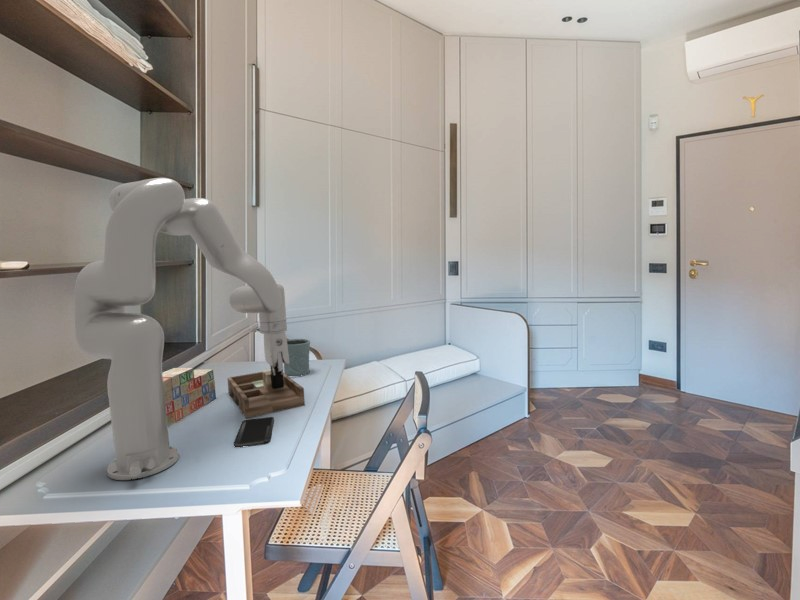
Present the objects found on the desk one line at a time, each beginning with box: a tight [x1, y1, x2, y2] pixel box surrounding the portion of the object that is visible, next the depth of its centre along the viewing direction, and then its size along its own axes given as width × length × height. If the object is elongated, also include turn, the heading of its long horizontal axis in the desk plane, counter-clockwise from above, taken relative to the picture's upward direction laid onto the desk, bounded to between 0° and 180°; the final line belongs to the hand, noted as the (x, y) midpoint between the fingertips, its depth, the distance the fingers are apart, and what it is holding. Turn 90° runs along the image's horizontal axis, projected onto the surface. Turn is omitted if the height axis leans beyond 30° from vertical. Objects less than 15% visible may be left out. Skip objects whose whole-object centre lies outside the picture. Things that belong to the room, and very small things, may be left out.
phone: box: [233, 416, 275, 448], centre depth 100 cm, size 8×1×15 cm
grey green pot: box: [283, 338, 311, 377], centre depth 151 cm, size 10×10×12 cm
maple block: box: [261, 369, 284, 391], centre depth 127 cm, size 5×5×5 cm
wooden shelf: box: [227, 371, 306, 419], centre depth 125 cm, size 26×16×5 cm, turn 32°
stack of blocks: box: [162, 367, 217, 427], centre depth 116 cm, size 21×6×12 cm, turn 171°
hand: (277, 387), depth 123 cm, fingers closed
